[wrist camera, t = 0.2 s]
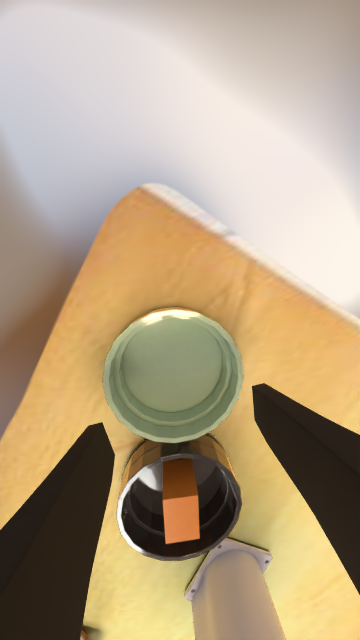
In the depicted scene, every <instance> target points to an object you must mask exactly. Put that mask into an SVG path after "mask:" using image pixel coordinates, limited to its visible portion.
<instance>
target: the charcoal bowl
mask: <svg viewBox="0 0 360 640" xmlns="http://www.w3.org/2000/svg"><path fill="white" fill-rule="evenodd" d="M182 459H192V463H193V468H194V474H195V480H196V486H197V492H198V507H199V534H200V538H199V539H194V540H188V541H181V542H175V543H168V544H166V541H165V526H164V512H163V462H165V461H174V460H182ZM241 506H242V500H241V492H240V486H239V484H238V481H237V479H236V476H235V473H234V471H233V469H232V466H231V463H230V461H229V459H228V457H227V455H226V453H225V451H224V449H223V448H222V447H221V446H220V445H219V444H218V443H217V442H216V441H214V440H213V439H212V438H211V437H209V436H206V435H202V436H200V437H199V438H197V439H193V440H188V441H183V442H178V443H167V442H155V441H152V440H148V441H146V442H145V443H143V444H142V445H141V446H140V447H139V448H138V449H137V450H136V451H135V452H134V453H133V454H132V456H131V458H130V460H129V462H128V464H127V466H126V468H125V471H124V476H123V480H122V485H121V489H120V493H119V498H118V505H117V512H116V518H117V522H118V526H119V530H120V533H121V534H122V536H123V537H124V539H125V540H126V541H127V543H128V544H129V546H131V547H132V548H134V549H135V550H137V551H138V552H140V553H141V554H143V555H145V556H147V557H151V558H154V559H157V560H161V561H182V560H186V559H190V558H194V557H198V556H200V555H202V554H204V553H206V552H208V551H210V550H212V549H213V548H215V547H217V546H218V545H219V544H220V543H221V542H222V541H223V540H224V539H225V538H226V537H227V536H228V535H229V534H230V532H231V531H232V529H233V527H234V526H235V524H236V523H237V521H238V518H239V514H240V510H241Z"/></svg>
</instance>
